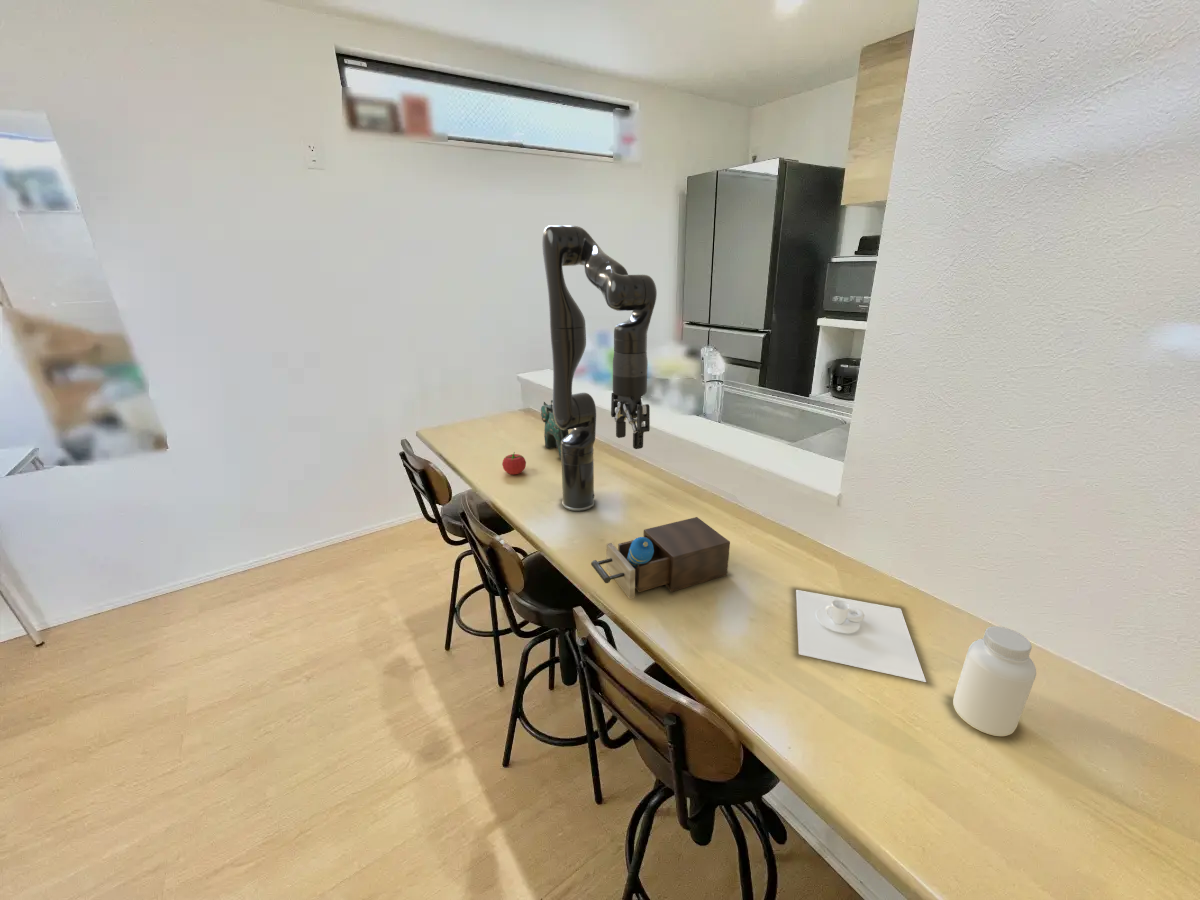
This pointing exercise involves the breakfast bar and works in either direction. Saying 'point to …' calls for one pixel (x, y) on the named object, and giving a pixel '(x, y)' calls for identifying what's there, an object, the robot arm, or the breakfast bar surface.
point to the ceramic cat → (552, 428)
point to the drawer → (634, 569)
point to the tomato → (514, 464)
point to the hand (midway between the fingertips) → (629, 442)
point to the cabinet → (691, 551)
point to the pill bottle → (995, 681)
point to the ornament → (640, 551)
